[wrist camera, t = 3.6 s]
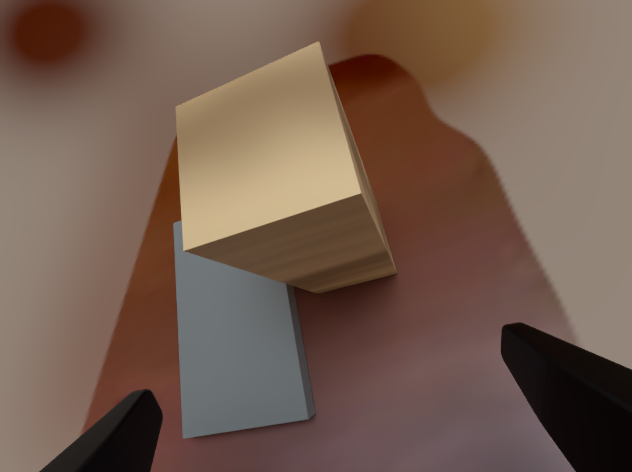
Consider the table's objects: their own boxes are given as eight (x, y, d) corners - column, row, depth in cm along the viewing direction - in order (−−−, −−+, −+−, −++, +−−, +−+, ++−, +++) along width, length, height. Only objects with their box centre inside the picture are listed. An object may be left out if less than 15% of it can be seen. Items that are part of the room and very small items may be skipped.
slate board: (315, 413, 17) (308, 419, 16) (196, 432, 19) (182, 438, 18) (277, 195, 22) (270, 189, 21) (184, 228, 24) (173, 223, 23)
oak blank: (397, 273, 18) (361, 193, 7) (317, 293, 19) (183, 251, 8) (375, 198, 20) (319, 40, 9) (303, 221, 21) (175, 106, 10)
